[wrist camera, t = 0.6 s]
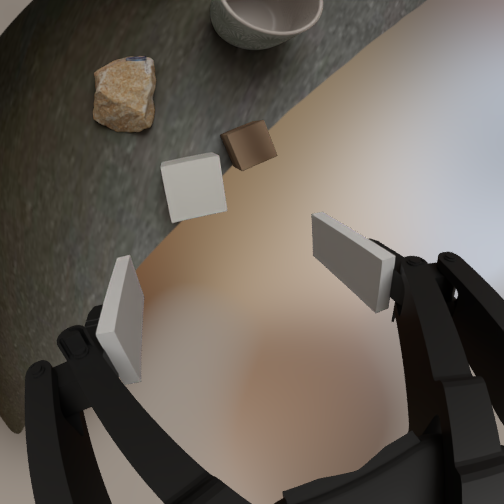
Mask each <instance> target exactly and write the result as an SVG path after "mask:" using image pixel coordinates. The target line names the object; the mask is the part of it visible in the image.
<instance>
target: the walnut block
mask: <svg viewBox="0 0 504 504" xmlns="http://www.w3.org/2000/svg"><path fill="white" fill-rule="evenodd" d="M220 136H221V138H222V140H223V143H224V145H225V147H226V150H227V152H228V154H229V157H230V159H231V161H232V164H233V166H234V167H235V168H238V169H239V170H241V171H244V170H246V169H248V168H250V167H252V166H255V165H257V164H260V163H262V162H264V161H267V160H269V159H271V158H274V157H276V156H277V153H276V150H275V148H274V145H273V142H272V140H271V137H270V135H269V132H268V130H267V127H266V124H265V122H264V120H260V121H252V122H250V123H247V124H245V125H242V126H240V127H237V128H235V129H232V130H230V131H228V132H225V133H223V134H221V135H220Z"/></svg>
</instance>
